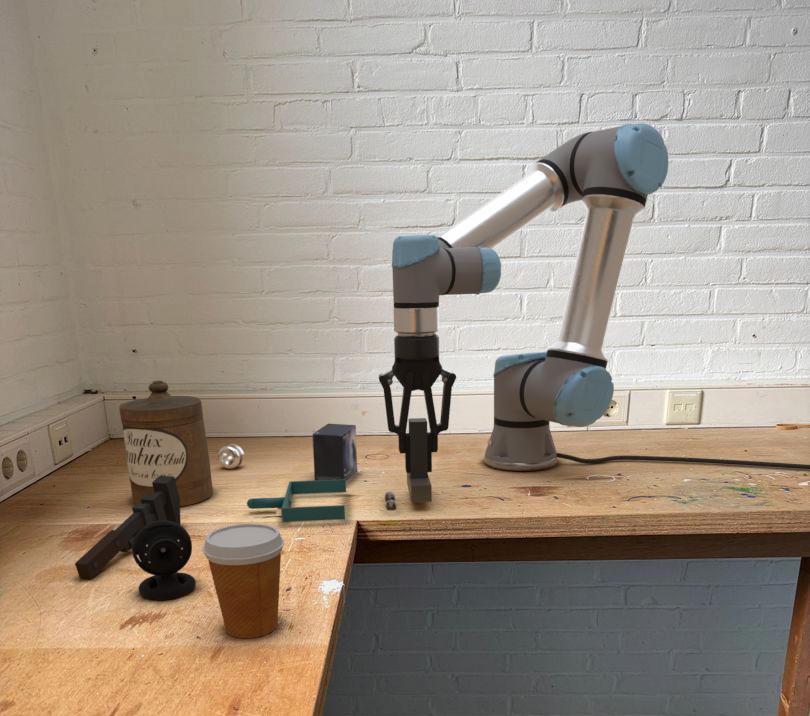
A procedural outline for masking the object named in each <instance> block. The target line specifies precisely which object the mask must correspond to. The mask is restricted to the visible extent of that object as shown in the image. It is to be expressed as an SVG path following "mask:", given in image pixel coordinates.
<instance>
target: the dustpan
mask: <svg viewBox="0 0 810 716" xmlns="http://www.w3.org/2000/svg"><path fill="white" fill-rule="evenodd" d="M328 493H329V494H330V493H347V481H346V479H339V480H314V479H313V480H292V481H289V482H288V485H287V488H286V491H285V494H284V496H280V497H259V498H257V497H256V498H253V497H252V498H249V499H248V500H247V502H246V504H247V508H248V509H251V510H255V509H256V510H257V509H278V508H281V519H282V520H281V521H282V523H288V522H289V523H290V522H313V521H335V520H336V521H337V520H346V508H345V507H346V506H345V505H344V504H341V505H340V504H338V505H337V504H336V505H313V506H292V507H291V505H292V498H293V495H302V494H305V495H306V494H328Z"/></svg>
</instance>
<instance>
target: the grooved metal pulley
mask: <svg viewBox="0 0 810 716" xmlns="http://www.w3.org/2000/svg"><path fill="white" fill-rule="evenodd" d="M217 459H218V462H219V464H220V465H221V466H222V467H223V468H225V469H226V470H227V469H228V470H233V469H235V468H237V467H240V466H242V465H243V463H244V461H245V452H244V450H243V448H241V446H240V445H238V444H236V443H229V444H227V445H225V446H222V447H221V448H220V449H219V451H218V454H217Z"/></svg>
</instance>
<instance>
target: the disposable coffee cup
mask: <svg viewBox="0 0 810 716" xmlns="http://www.w3.org/2000/svg"><path fill="white" fill-rule="evenodd" d="M284 546H285V540H284V538H283V537H282V536H281V532H280V530H279V529H278V528H277V527H276V526H273V525H271V524H266V523H256V522H255V523H253V522H251V523H247V522H246V523H237V524H232V525H226V526H223V527H219V528H217V529H214V530H211V531H210V532H208V533H207V534H206V536H205V538H204V545H203V546H202V549H201V550H202V553H203V555H204V556H205V558H206V559H207V561H208V565H209V570H210V573H211V577H212V580H213V585H214V589H215V593H216V597H217V602H218V604H219V609H220V613H221V617H222V620H223V623H224V624H223V625H224V629H225V632H226V633H227V635H229V636H231V637H233V638H239V639H253V638H259V637H263V636H267V635H268V634H271V633H272V632H274V631H275V630H276V629H277V628H278V625H279V624H278V622H279V621H278V620H279V602H280V601H279V600H280V580H281V560H282V559H281V558H282V552H283V548H284Z"/></svg>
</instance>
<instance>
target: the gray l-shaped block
mask: <svg viewBox="0 0 810 716" xmlns="http://www.w3.org/2000/svg"><path fill="white" fill-rule="evenodd" d="M427 432H428V419H427V418H426V417H418V418H415V417H414V418H408V433H409V435H410V467H411V473H406V485H407V490H408V493H409V494H408V495H409V499H410V502H411V503H429V502H430V503H432V501H433V498H432V494H433V493H432V491H433V490H432V489H433V488H432V487H433V485H432V482H431V478H430V476H429V472H428V447H427Z"/></svg>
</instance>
